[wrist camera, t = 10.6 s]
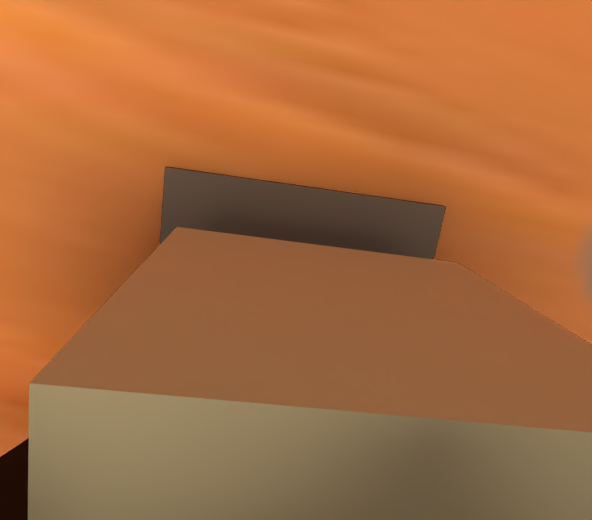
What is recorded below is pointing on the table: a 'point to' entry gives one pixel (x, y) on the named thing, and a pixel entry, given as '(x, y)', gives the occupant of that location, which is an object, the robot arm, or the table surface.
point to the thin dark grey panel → (298, 214)
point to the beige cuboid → (310, 394)
